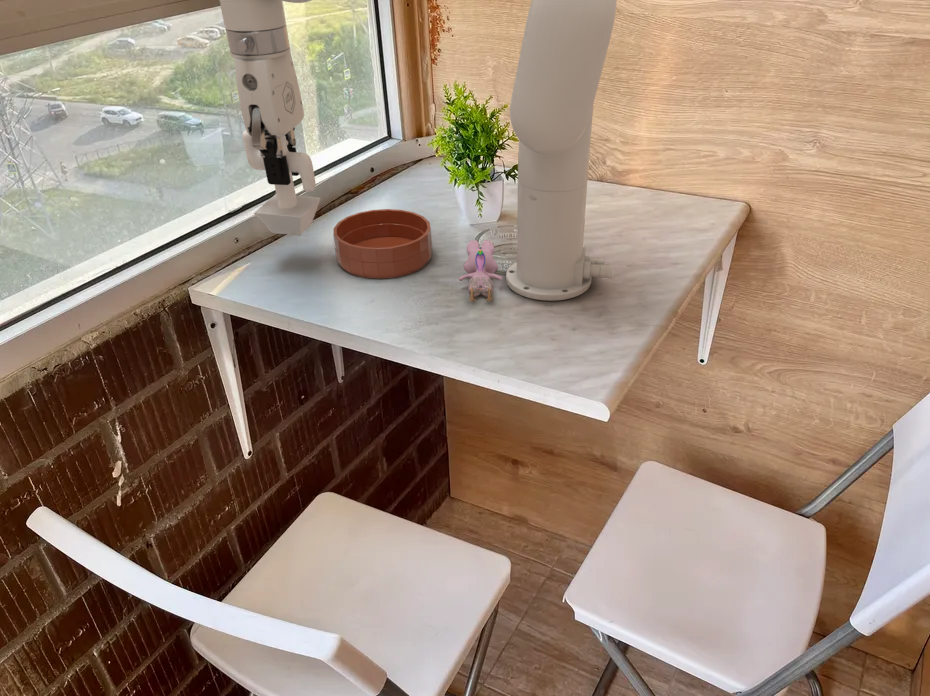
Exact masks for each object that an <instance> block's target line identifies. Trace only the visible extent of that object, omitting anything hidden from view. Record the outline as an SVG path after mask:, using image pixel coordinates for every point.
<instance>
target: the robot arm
mask: <svg viewBox="0 0 930 696" xmlns="http://www.w3.org/2000/svg"><path fill="white" fill-rule="evenodd" d="M218 1H219V6H220V10H221V16H222V19H223V24H224V28H225V35H226V38H227V43H228V49H229V54H230V57H231V58H233V59H234V68H235V79H236V86H237V93H238V98H239V106H240V112H241V115H242V119H243V124H244V128H245V130H246V131H247V133H248V134H249V135H250V136H252V146H253V148H256V149H258V150H259V151H260V154H261V157H262V158H263V161H264V166H265V170H264V171H265V176H266V180H267V183H268V184H269V185H274V186H275V185H289V184H290V183H291V180H290V175H289V169H288V164H287V158H286V156H283V151H282V144H281V137H283V136H284V135H285V136H286V140H287V141H288V145H287V149H288V151H289V152H297V147H296V146H297V140H296V135H295V131H296V127H297V126H298V125H299V124H301V122H302V121H303V120H304V117H305V111H304V105H303V99H302V95H301V90H300V85H299V81H298V76H297V72H296V69H295V65H294V61H293V58H292V55H291V48H290V43H289V35H288V31H287V25H286V19H285V13H284V6H283V2H285V3H293V4H304V3H309V2H311V1H313V0H218ZM616 13H617V0H531V1H530V5H529V9H528V13H527V17H526V22H525V27H524V32H523V37H522V43H521V47H520V53H519V57H518V63H517V67H516V73H515V78H514V83H513V88H512V92H511V93H512V94H511V99H510V105H509V118H510V124H511V128H512V129H513V132H514V134H515V136H516V137H517V139H518V152H517V153H518V154H517V157H518V158H517V212H516V213H517V215H516V217H517V219H516V224H517V225H516V227H517V228H516V262H513V263H512V264H510V266H509V267H508V268H507V269H506V272H505V282H506V284H507V286H508V287H509V289H510V290H512V291H513V292H514V293H516V294H518V295H520V296H522V297H525V298H529V299H533V300H537V301H549V302H550V301H551V302H556V301H565V300H569V299H573V298H576V297H578V296H580V295H582V294H584V293H585V292H586V291H588V289H590V287H591V284H592V277H594V278H600V279H613V269H614V265H613V264H606V258H592V257H590V256H589V255H586V248H587V247H585V246H584V238H585V237H584V236H585V221H586V206H587V192H588V181H589V164H590V152H591V139H592V138H591V137H592V125H593V117H594V106H595V105H594V104H595V99H596V96H597V91H598V89H599V84H600V80H601V76H602V74H603V69H604V65H605V61H606V57H607V54H608V50H609V47H610V46H609V45H610V42H611V38H612V33H613V30H614V25H615V21H616ZM265 130H268V132H269V133H265ZM266 139H273V140H274V144H273V143H272V142H268V141H267V140H266ZM297 176H298V177H299V176H300V175H299V173H297V172H292V177H297Z"/></svg>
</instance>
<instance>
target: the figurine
mask: <svg viewBox="0 0 930 696" xmlns="http://www.w3.org/2000/svg"><path fill="white" fill-rule="evenodd" d="M265 133H269V132H268V130H265ZM266 140H267V141H268V142H272V143H273V144H274V140H273V139H266ZM242 142H243V145H244V150H245V155H246V159H247V163H248V164H249V166H250V168H252V169H253V170H259V171H265V166H264V161H263V158H262V157H261V154H260V151H259V150H258V149H256V148H253V146H252V136H250V135H249V134H248V133H247V131H246V129H245V130H244V131H242ZM281 144H282V151H283V156H286V158H287V164H288V169H289V175H290V180H291V183H290V184H289V185H274V190H275V194H274V195H273V196H271V197H270V198H269V199H268V200H267V201H266V202H265V203H263V204H262V205H261V206H260V207H259V208H258V209H256V210H255V211H254V212H253V214H254V215H255V216H256V218H258V219H259V220H260V221H261V223H262V224H263V225H264V226H265V227H266V228H267V229H268V231H270V232H271V233H272V234H277V235H279V234H280V235H289V236H301V235H302V234H303V233H304V232H305V231H306V230H307V229H308V228H309V227H310V226H311V225H312V224H313V221H314V219H315V216H316V213H317V211H318V207H319V205H320V202H321V198H322V197H321V196H310V195H300V194H299V195H296V194H297V193H296V188H295V183H294V176H292V172H297V173H299V175H298V176H300V179H301V184H302V187H303V190H304V192H307V193H310V192H313V191H314V190H315V189H316V188H317V187H316V186H317V184H316V177H315V171H314V167H313V160H312V159H311V156H310V155H309V154H307V153H305V152H299V151H298V152H297V151H296V152H289V151H288V149H287V145H288V141H287V140H286V136H285V135H284V136H283V137H281Z"/></svg>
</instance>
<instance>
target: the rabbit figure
mask: <svg viewBox="0 0 930 696" xmlns="http://www.w3.org/2000/svg"><path fill="white" fill-rule="evenodd" d="M466 253H467V255H468V257H467V259H466V261H464V264H463V266H462V268H463V270H464V271H465V273H466V274H463V275H461V276H459V277H458V280H459V281H464V280H465V279H470V280H469V281H468V287H467V288H468V289H467V292H468V294H469V296H470V297H469V300H468V302H473V301H474V302H476V299H475V298H476V297H478V296H479V295H482V296H484V297H485V298H486V300H485V302H487V301H489V304H491V301H493V298H492V295H493V293H494V284H493V281H492V279H497V280H498V281H503V277H502V276H501V275H498V274H496V272H497V270H498V269H499V265H498V263H497V261H496V260H495V259H494V257H493V256H494V253H495V245H494V242H492V241H491V240H489V239H485V240H483V242H482V243H481V248H480V243H479V242H478V240H476V239H473V240H472V239H471V240H470V241H469V242H468V243H467V245H466Z"/></svg>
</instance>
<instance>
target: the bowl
mask: <svg viewBox="0 0 930 696" xmlns="http://www.w3.org/2000/svg"><path fill="white" fill-rule="evenodd" d="M332 230H333V234H332V235H333V243H334V249H335V257H336V261H337V263H338V264H339V266H340V267H341V268H342V269H343V270H345V271H346V273H348V274H349V273H350V274H351V275H354V276H357V277H361V278H366V279H393V278H399V277H405V276H407V275H410V274H413V273H416V272H418V271H419V270H421V269H423V268H424V267H425V266H426V265H427V264H428V262H430V259H431V257H432V256H433V243H432V242H433V241H432V227H431V222H430V221H429V220H428V219H427V218H426V217H425V216H423V215H421V214H418V213H416V212H414V211H408V210H404V209H395V208H393V209H392V208H381V209H370V210H365V211H360V212H356V213H354V214H351V215H348V216H346V217H344V218H343V219H341V220H339V221H338V222H337V223H336V225H335V226H334V227H333V229H332Z"/></svg>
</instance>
